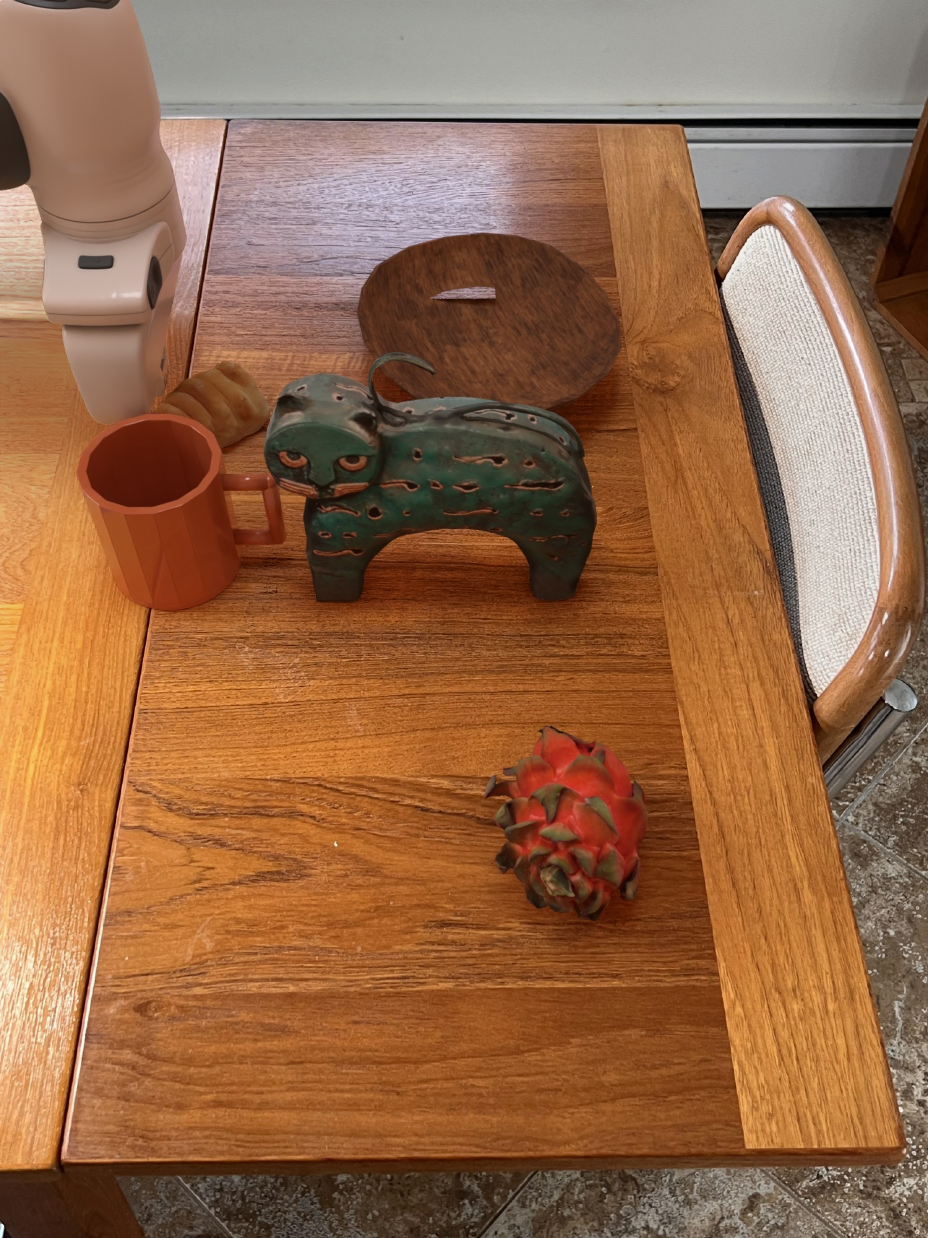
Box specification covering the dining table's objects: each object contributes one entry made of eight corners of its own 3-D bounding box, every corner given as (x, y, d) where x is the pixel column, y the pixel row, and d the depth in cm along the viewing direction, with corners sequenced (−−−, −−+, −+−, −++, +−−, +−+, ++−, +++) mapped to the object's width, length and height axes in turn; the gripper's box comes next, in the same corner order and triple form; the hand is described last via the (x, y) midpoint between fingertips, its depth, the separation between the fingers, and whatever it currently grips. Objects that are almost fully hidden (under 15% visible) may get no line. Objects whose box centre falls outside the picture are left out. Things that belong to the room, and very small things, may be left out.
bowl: (407, 488, 84) (405, 438, 80) (332, 307, 96) (327, 255, 92) (655, 431, 88) (665, 380, 84) (552, 264, 100) (556, 213, 96)
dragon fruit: (564, 973, 64) (538, 798, 72) (700, 916, 61) (655, 740, 69) (474, 912, 59) (458, 731, 67) (617, 846, 55) (580, 665, 64)
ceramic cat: (288, 615, 77) (247, 384, 61) (298, 542, 81) (261, 307, 65) (587, 619, 77) (623, 390, 61) (581, 546, 81) (615, 312, 65)
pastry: (180, 483, 84) (169, 445, 81) (126, 437, 87) (114, 398, 84) (280, 421, 88) (273, 382, 85) (225, 379, 91) (217, 340, 88)
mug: (102, 611, 77) (65, 514, 69) (123, 513, 82) (90, 413, 74) (285, 609, 77) (268, 512, 69) (294, 512, 82) (279, 412, 75)
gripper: (92, 136, 82) (134, 298, 93) (35, 320, 69) (91, 482, 80) (182, 136, 82) (213, 297, 93) (141, 320, 69) (182, 481, 80)
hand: (156, 384), depth 86 cm, fingers closed
